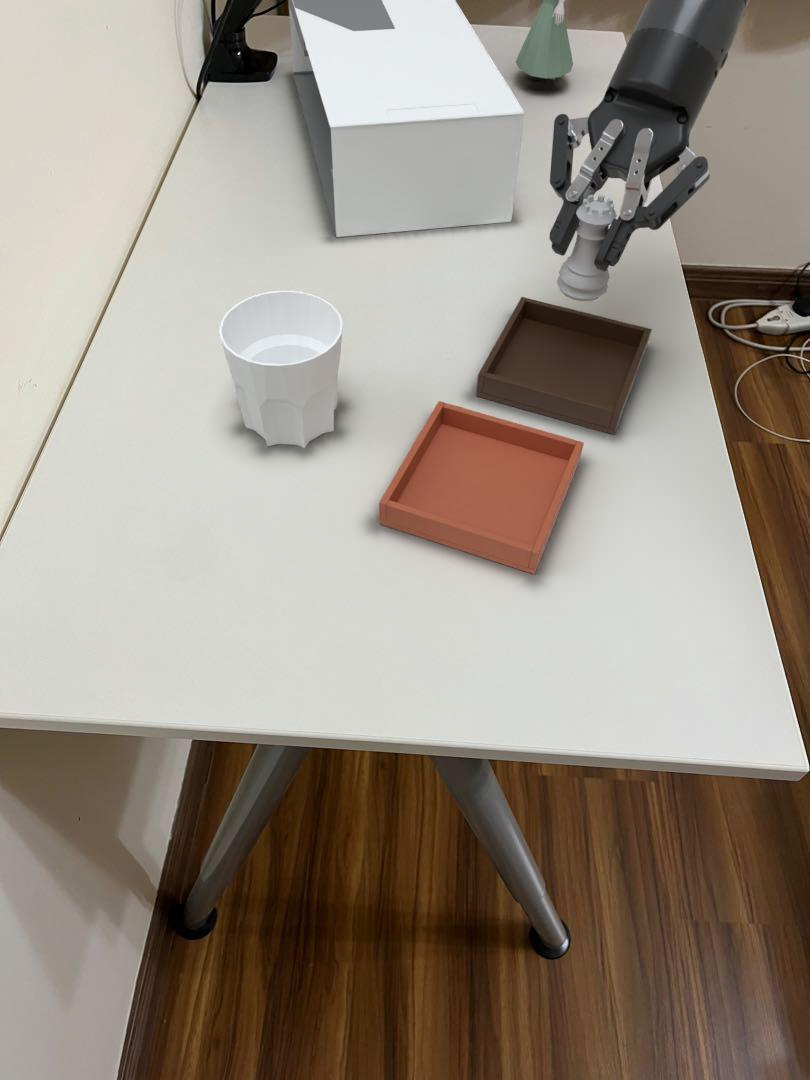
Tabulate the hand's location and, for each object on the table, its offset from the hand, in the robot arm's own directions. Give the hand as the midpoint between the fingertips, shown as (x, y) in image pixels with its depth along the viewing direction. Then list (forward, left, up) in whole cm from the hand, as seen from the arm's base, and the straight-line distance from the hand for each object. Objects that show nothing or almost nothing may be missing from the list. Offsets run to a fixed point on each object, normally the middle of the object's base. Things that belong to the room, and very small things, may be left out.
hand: (578, 258), depth 70 cm
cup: (+21, +14, -14) cm, 28 cm away
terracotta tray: (+2, +16, -13) cm, 21 cm away
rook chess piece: (0, -2, -4) cm, 5 cm away
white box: (+34, -39, -14) cm, 53 cm away
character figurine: (+21, -65, -14) cm, 70 cm away
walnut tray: (0, -2, -13) cm, 14 cm away
